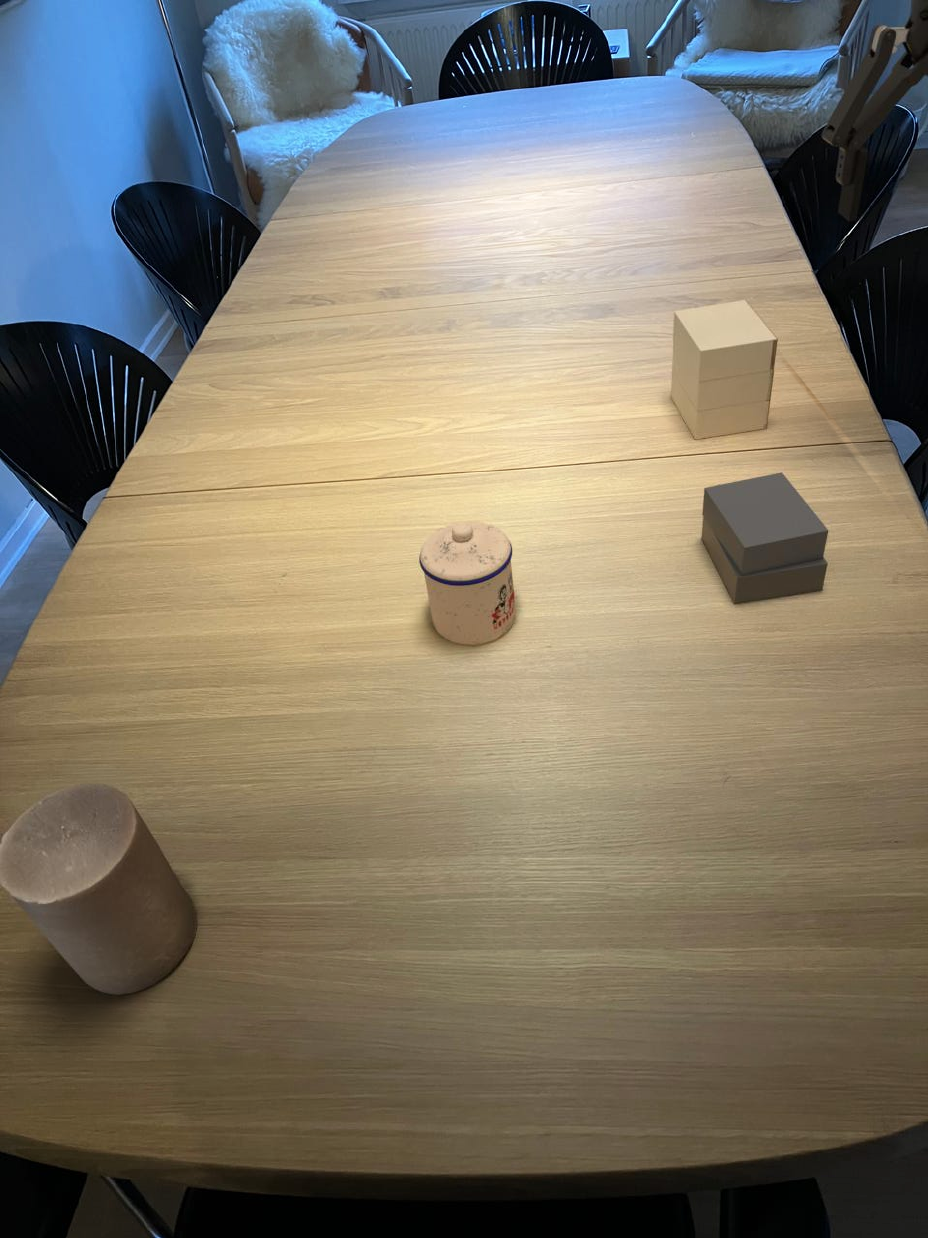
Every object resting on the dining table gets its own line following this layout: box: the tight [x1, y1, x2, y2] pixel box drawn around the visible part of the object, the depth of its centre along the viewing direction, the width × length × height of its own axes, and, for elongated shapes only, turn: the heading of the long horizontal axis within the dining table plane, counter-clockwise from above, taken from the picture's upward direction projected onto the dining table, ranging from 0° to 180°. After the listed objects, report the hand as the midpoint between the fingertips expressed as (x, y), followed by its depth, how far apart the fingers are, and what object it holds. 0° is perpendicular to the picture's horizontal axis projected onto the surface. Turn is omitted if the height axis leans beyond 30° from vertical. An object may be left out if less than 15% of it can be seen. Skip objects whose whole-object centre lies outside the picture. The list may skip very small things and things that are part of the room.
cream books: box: [670, 341, 775, 440], centre depth 116 cm, size 9×11×8 cm
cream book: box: [672, 299, 779, 382], centre depth 112 cm, size 9×11×4 cm
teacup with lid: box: [418, 521, 517, 646], centre depth 92 cm, size 12×9×12 cm
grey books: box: [700, 472, 829, 605], centre depth 94 cm, size 9×11×7 cm
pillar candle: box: [0, 782, 198, 996], centre depth 67 cm, size 10×10×15 cm
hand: (913, 206), depth 93 cm, fingers open, 13 cm apart
